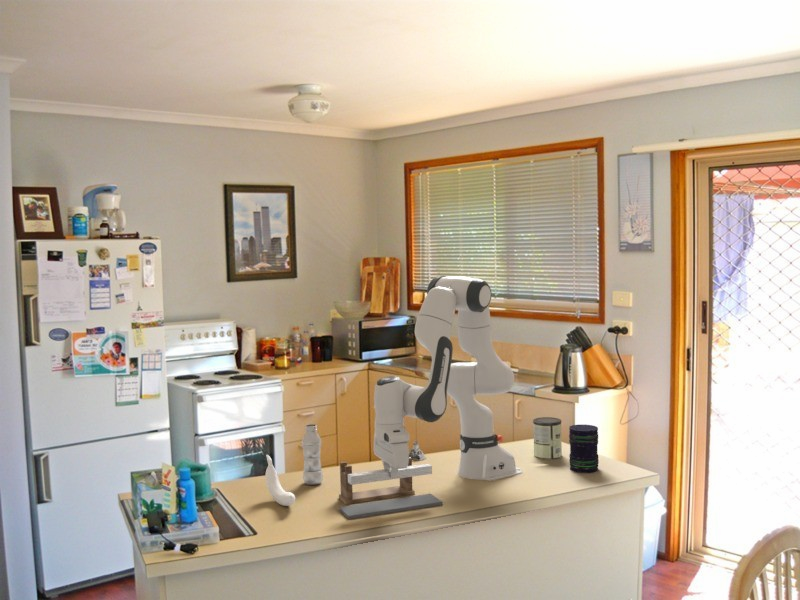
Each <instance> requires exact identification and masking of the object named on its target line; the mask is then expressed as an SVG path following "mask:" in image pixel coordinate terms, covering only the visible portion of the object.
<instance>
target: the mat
mask: <svg viewBox="0 0 800 600" xmlns="http://www.w3.org/2000/svg"><path fill="white" fill-rule="evenodd" d="M443 503H444V502H443V500H440V499H439V498H438V497H436V496H434V494H432V493H426V494H419V495H410V496H406V497H405V496H403V497H396V498H390V499H385V500H384V499H383V500H376V501H369V502H365V503H364V502H363V503H356V504H349V505H343V506H339V507H338V511H339V512H341V514H342V515H343V516H344V517H345V518H346V519H347V520H355V519H359V518H365V517H366V518H368V517H372V516H379V515H386V514H393V513H398V512H399V513H400V512H405V511H412V510H420V509H423V508H424V509H425V508H431V507H432V508H433V507H437V506H443Z"/></svg>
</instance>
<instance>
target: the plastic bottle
mask: <svg viewBox="0 0 800 600" xmlns="http://www.w3.org/2000/svg"><path fill="white" fill-rule="evenodd" d="M304 431H305V434H304V435H303V436H302V439H301V447H302V451H303V472H302V481H303V483H304V484H305V485H308V486H316V485H320V484H322V482H323V479H324V478H323V476H324V475H323V470H322V464H321V448H322V439H321V436H320V435H319V434H318V432H317V431H318V427H317V424H313V423H310V424H306V425H305V430H304Z"/></svg>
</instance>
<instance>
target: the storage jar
mask: <svg viewBox="0 0 800 600" xmlns="http://www.w3.org/2000/svg"><path fill="white" fill-rule="evenodd" d="M568 429H569V434H568V439H569V441H568V442H569V449H570V450H569V455H568V456H569V459H568V460H569V470H570V471H571V472H574V473H580V474H592V473H596V472H598V471H599V454H598V444H599V427H598V426H596V425H592V424H573V425H570V426H569V428H568Z"/></svg>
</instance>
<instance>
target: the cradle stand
mask: <svg viewBox="0 0 800 600" xmlns="http://www.w3.org/2000/svg"><path fill="white" fill-rule="evenodd" d="M408 466H413V459H412V458H409V463H408ZM352 473H353V467H352V465H348V462H347V461H341V462H339V475H340V477H339V478H340V479H339V480H340V493H339V494H338V499H339V501H341V502H342V503H343V504H345V505H353V504H360V503H364V502H365V503H367V502H374V501H380V500H384V499H385V498H387V499H393V498H401V497H405V496H406V497H408V496H414V495H415V493H416V492H415V489H413V477H405V478H399V485H396V486H389V487H383V488H382V487H381V488H375V489H368V490H362V491H354V492H353V485H351V484H349V483H348V474H352ZM392 497H393V498H392ZM379 499H380V500H379ZM385 500H386V499H385Z"/></svg>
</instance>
